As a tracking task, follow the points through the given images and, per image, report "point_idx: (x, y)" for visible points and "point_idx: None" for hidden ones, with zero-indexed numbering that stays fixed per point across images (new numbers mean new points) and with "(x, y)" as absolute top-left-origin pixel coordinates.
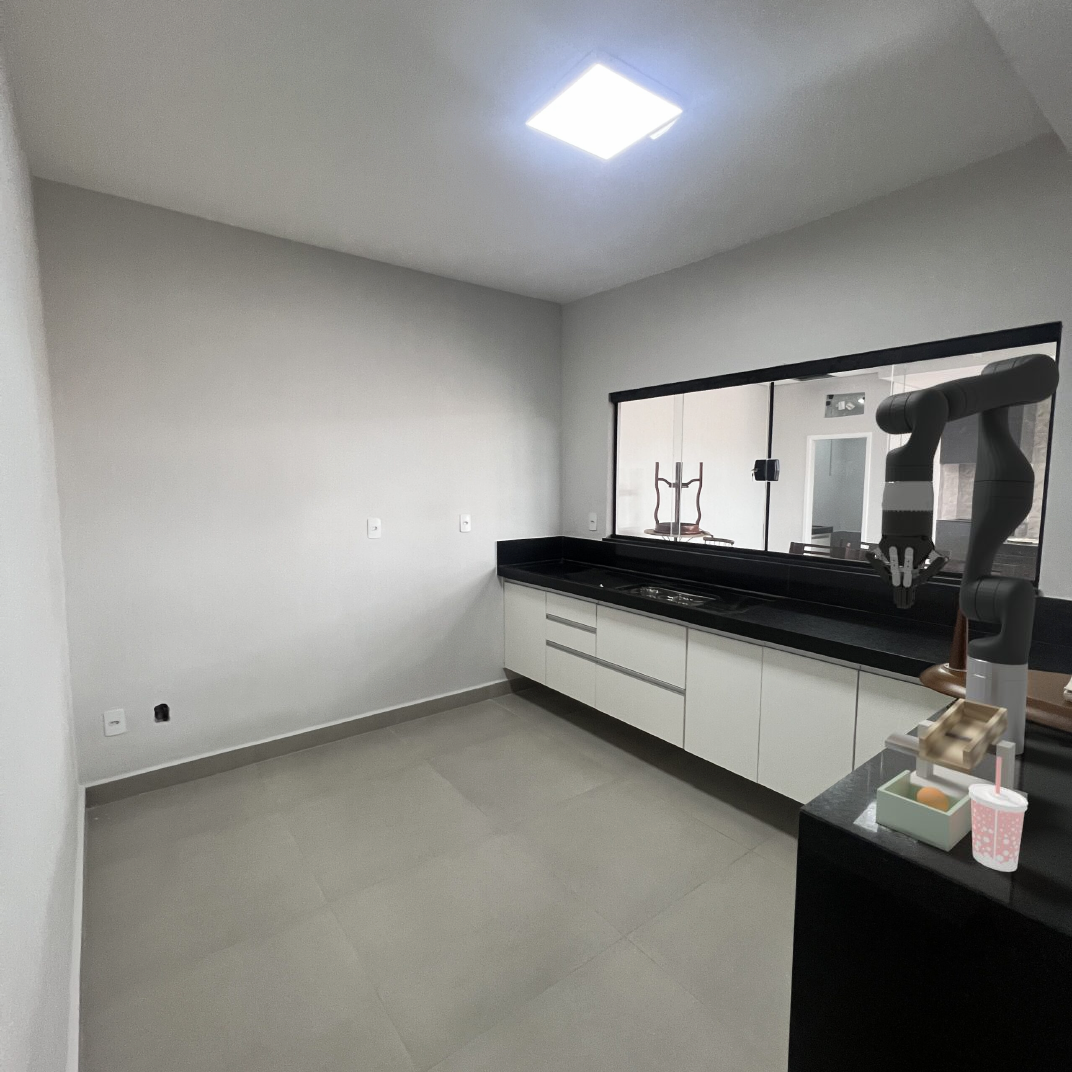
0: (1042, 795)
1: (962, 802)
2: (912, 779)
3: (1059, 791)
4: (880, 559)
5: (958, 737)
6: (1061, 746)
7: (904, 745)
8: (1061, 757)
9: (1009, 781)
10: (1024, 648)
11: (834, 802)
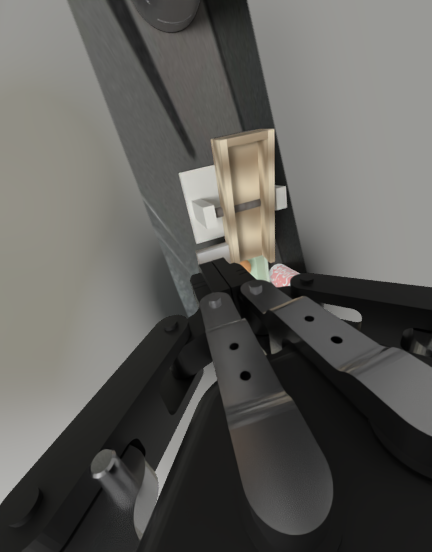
0: (260, 128)
1: (268, 277)
2: (199, 229)
3: (265, 97)
4: (153, 471)
5: (240, 211)
6: None
7: None
8: None
9: None
10: None
11: (192, 307)
